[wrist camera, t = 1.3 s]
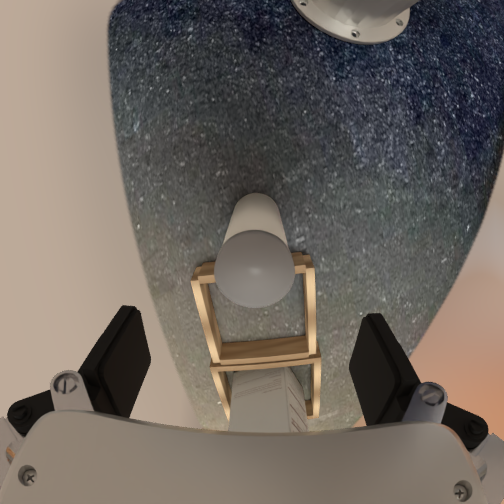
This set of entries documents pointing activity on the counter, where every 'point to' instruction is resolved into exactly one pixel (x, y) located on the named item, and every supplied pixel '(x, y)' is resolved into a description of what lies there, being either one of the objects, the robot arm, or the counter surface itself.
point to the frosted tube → (255, 255)
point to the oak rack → (261, 351)
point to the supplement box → (267, 402)
